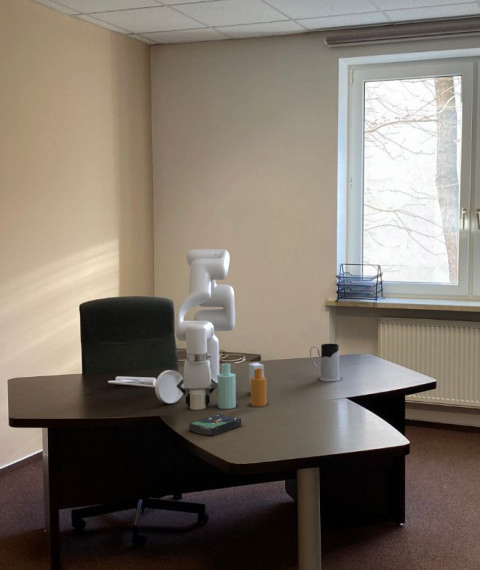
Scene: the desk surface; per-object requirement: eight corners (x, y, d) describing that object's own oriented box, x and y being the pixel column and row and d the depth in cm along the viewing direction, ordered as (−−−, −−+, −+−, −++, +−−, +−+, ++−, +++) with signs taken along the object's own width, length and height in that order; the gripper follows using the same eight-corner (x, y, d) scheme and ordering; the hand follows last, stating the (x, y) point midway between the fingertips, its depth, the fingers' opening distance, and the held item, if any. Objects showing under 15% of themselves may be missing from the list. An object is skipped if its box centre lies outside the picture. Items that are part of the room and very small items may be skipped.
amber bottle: (247, 405, 276) (247, 369, 275) (257, 402, 281) (256, 367, 280) (260, 407, 273) (259, 371, 272) (269, 404, 278) (269, 368, 276)
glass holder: (334, 382, 314) (333, 347, 313) (305, 378, 321) (305, 344, 320) (343, 378, 321) (343, 344, 320) (315, 375, 329) (315, 341, 328)
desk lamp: (204, 370, 292) (137, 365, 322) (159, 370, 275) (92, 365, 306) (203, 401, 291) (135, 394, 321) (157, 404, 274) (90, 395, 305)
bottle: (214, 407, 273) (213, 364, 272) (225, 403, 279) (225, 361, 277) (227, 409, 270) (227, 366, 268) (239, 406, 275) (238, 363, 274)
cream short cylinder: (186, 408, 272) (186, 392, 272) (197, 405, 277) (197, 389, 277) (198, 410, 269) (198, 394, 269) (209, 407, 274) (208, 391, 273)
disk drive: (219, 421, 255) (188, 430, 243) (219, 413, 254) (188, 422, 243) (241, 426, 248) (211, 436, 237) (241, 418, 248) (211, 427, 236)
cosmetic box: (265, 395, 292) (264, 364, 291) (254, 396, 290) (254, 365, 289) (259, 391, 298) (258, 362, 297) (248, 393, 296) (248, 363, 295)
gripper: (220, 355, 276) (221, 402, 278) (174, 356, 275) (175, 403, 276) (220, 358, 269) (221, 407, 270) (172, 359, 267) (173, 408, 269)
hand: (197, 405), depth 273 cm, fingers closed on cream short cylinder, 6 cm apart
